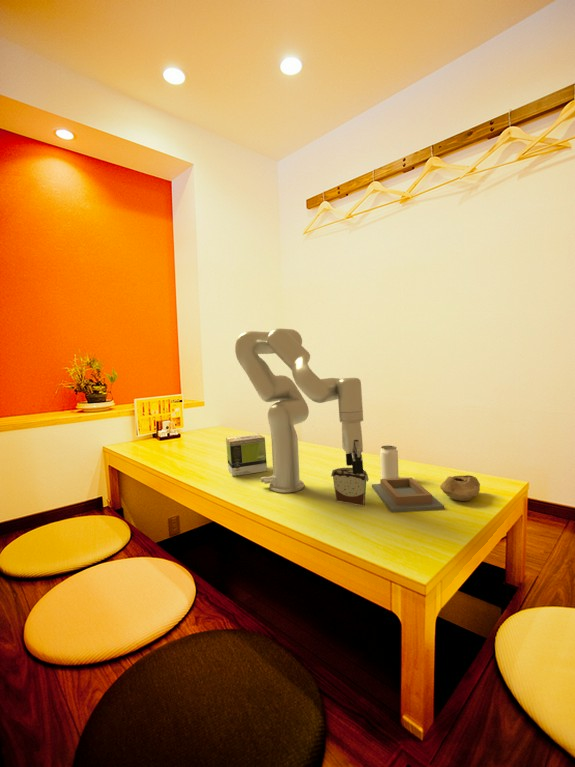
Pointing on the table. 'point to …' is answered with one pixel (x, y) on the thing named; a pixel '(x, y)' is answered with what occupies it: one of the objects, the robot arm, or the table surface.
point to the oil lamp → (461, 487)
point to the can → (389, 462)
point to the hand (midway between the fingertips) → (354, 469)
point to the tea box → (246, 454)
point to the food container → (349, 486)
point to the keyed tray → (405, 495)
